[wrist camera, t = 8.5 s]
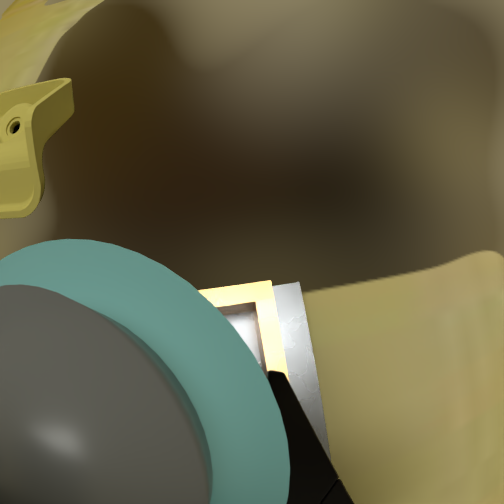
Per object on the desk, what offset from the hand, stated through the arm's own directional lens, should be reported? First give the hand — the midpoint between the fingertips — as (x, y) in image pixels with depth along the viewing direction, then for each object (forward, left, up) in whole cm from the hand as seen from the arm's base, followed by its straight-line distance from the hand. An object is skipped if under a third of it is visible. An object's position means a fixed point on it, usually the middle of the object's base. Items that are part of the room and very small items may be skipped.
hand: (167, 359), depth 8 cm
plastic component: (+18, +18, -9) cm, 27 cm away
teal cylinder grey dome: (-1, 0, -7) cm, 7 cm away
